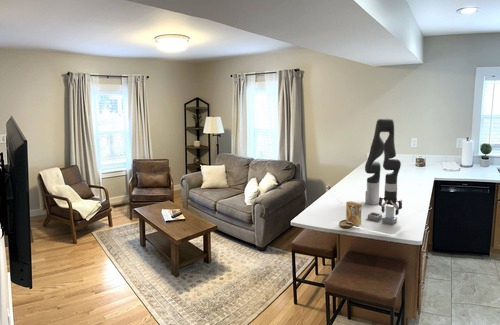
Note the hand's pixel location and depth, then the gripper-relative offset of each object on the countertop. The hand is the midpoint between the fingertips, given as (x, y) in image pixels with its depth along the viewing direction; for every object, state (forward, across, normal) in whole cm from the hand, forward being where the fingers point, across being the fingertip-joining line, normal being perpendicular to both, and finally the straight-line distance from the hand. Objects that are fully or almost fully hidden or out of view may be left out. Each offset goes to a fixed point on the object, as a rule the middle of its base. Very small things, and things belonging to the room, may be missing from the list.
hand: (389, 213), depth 226 cm
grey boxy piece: (+7, -5, 0) cm, 8 cm away
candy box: (+7, -17, -17) cm, 25 cm away
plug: (+6, 0, 0) cm, 6 cm away
